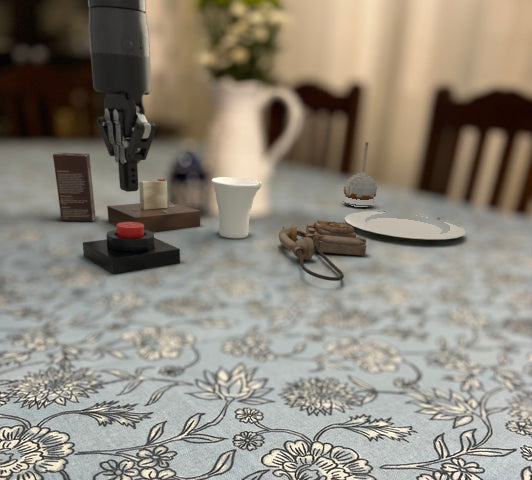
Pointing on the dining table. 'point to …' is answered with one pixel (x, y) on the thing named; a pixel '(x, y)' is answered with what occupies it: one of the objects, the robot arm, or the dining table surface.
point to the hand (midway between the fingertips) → (129, 190)
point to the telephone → (322, 243)
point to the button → (130, 229)
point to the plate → (402, 228)
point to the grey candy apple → (361, 184)
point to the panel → (155, 216)
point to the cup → (234, 204)
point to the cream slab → (153, 194)
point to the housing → (130, 252)
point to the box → (74, 186)
